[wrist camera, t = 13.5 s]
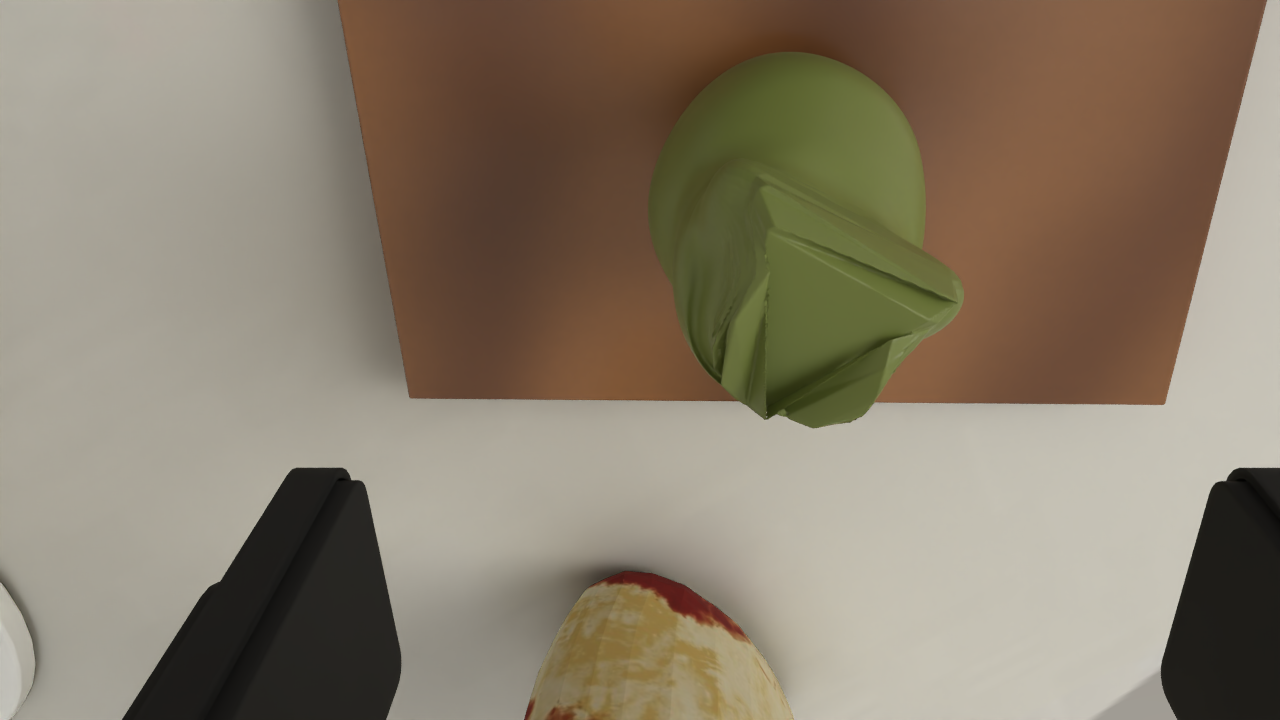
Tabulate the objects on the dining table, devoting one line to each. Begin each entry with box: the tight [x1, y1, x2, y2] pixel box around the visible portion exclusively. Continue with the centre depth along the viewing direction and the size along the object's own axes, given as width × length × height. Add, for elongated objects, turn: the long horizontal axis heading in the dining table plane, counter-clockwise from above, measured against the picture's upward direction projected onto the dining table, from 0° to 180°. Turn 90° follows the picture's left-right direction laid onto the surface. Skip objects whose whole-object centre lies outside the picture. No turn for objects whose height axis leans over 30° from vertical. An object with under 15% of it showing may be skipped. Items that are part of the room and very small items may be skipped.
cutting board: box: [338, 0, 1267, 405], centre depth 24 cm, size 20×13×2 cm, turn 92°
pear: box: [648, 52, 964, 428], centre depth 19 cm, size 6×5×10 cm
